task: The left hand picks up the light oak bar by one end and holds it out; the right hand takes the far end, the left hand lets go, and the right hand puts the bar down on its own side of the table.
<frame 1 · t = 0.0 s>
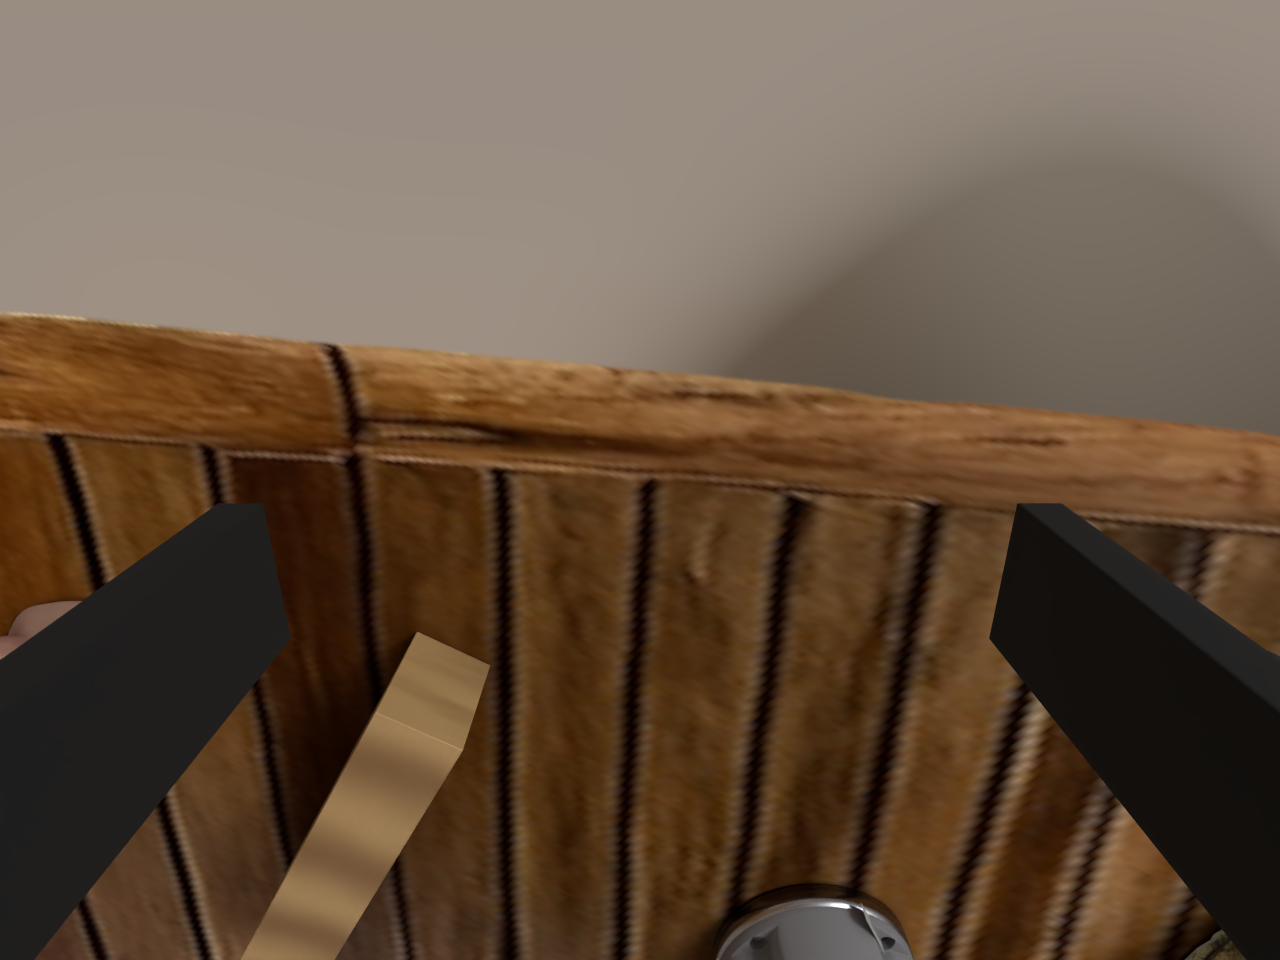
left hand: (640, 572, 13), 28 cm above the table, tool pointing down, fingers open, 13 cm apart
anatomical model: (84, 678, 47), on the table
bar: (386, 766, 50), on the table
fossil: (1226, 959, 57), on the table
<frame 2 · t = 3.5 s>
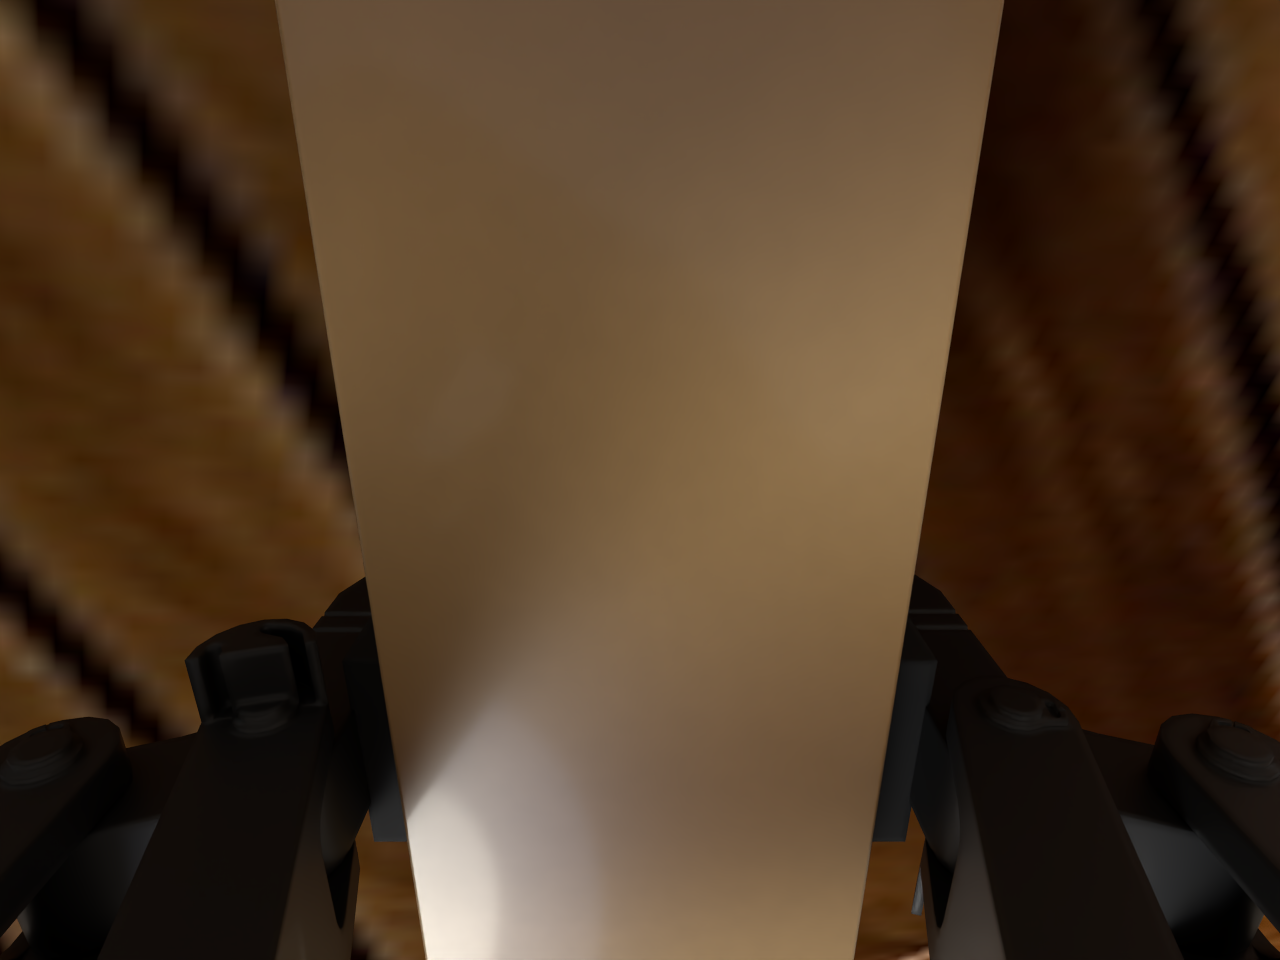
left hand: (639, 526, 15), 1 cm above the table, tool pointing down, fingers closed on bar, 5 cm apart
bar: (639, 70, 12), on the table, touching left hand
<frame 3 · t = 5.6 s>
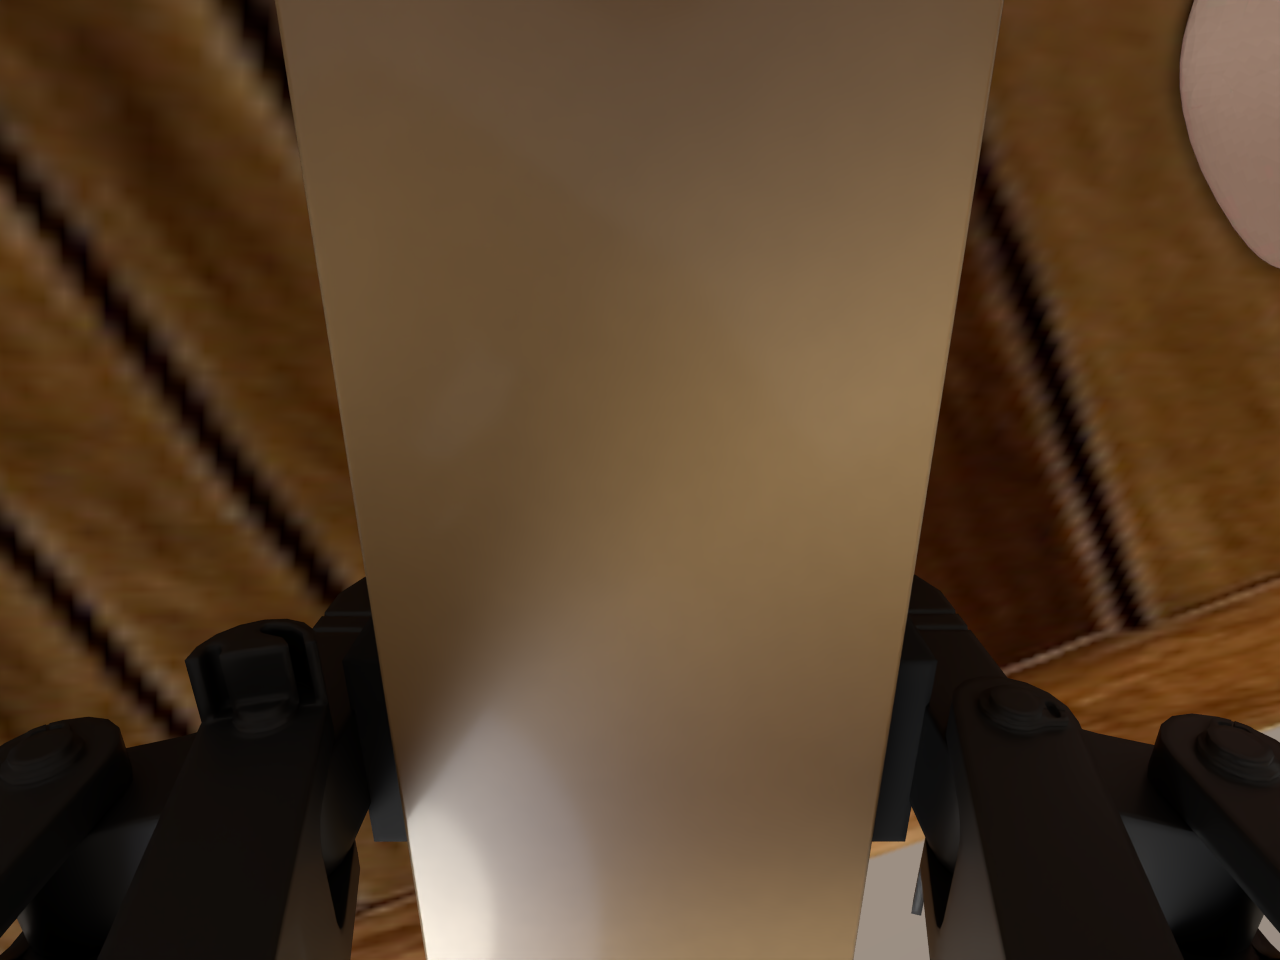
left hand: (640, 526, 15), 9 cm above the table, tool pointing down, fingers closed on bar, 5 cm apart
bar: (639, 71, 12), point 9 cm above the table, touching left hand
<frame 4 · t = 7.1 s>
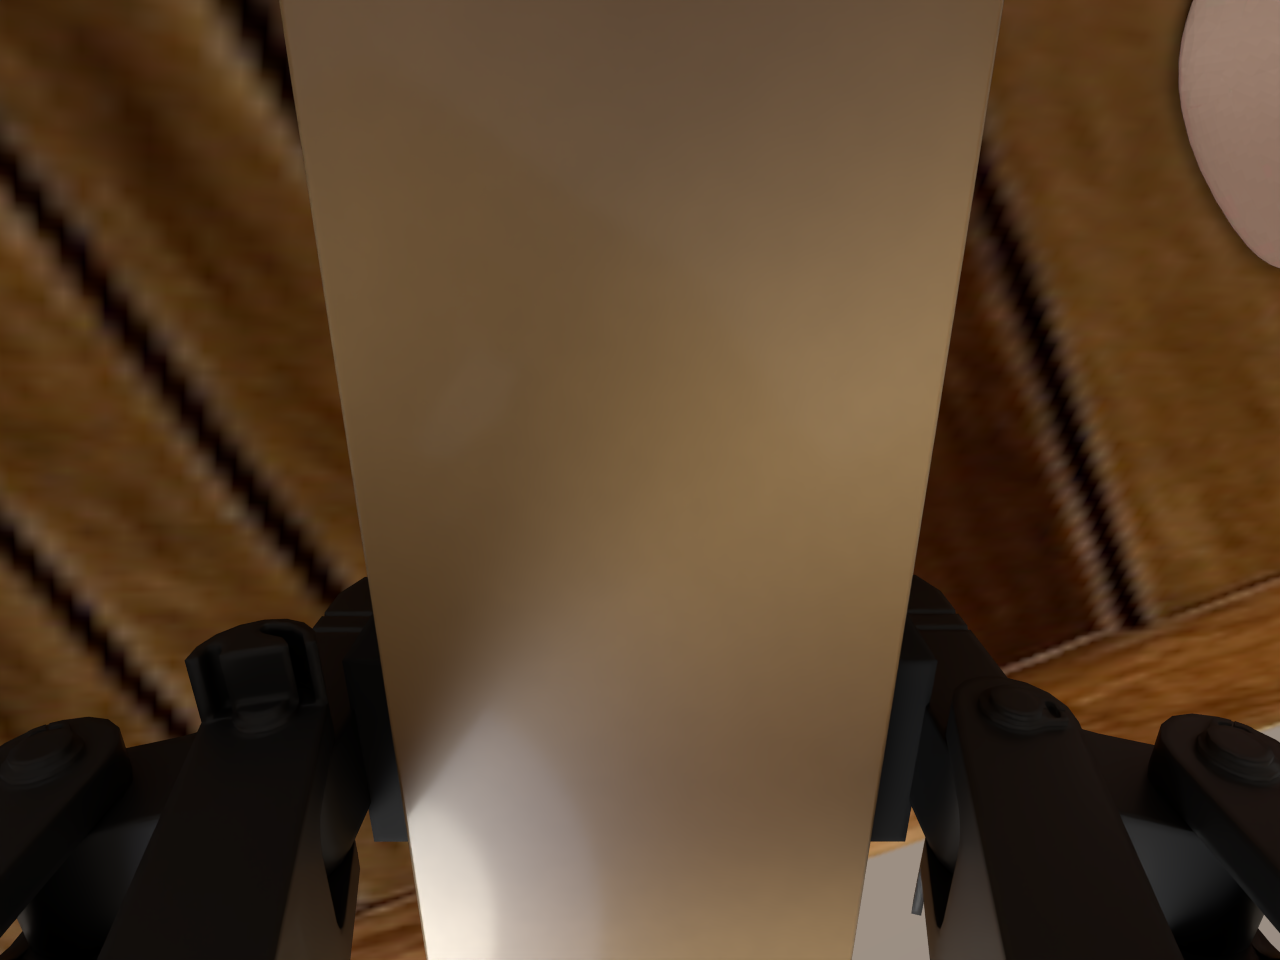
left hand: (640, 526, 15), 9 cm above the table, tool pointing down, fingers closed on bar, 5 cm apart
bar: (641, 71, 12), point 9 cm above the table, touching left hand, right hand
when the left hand's fingers open (9 cm above the table, at t = 7.9 s): bar stays where it is, held by the right hand.
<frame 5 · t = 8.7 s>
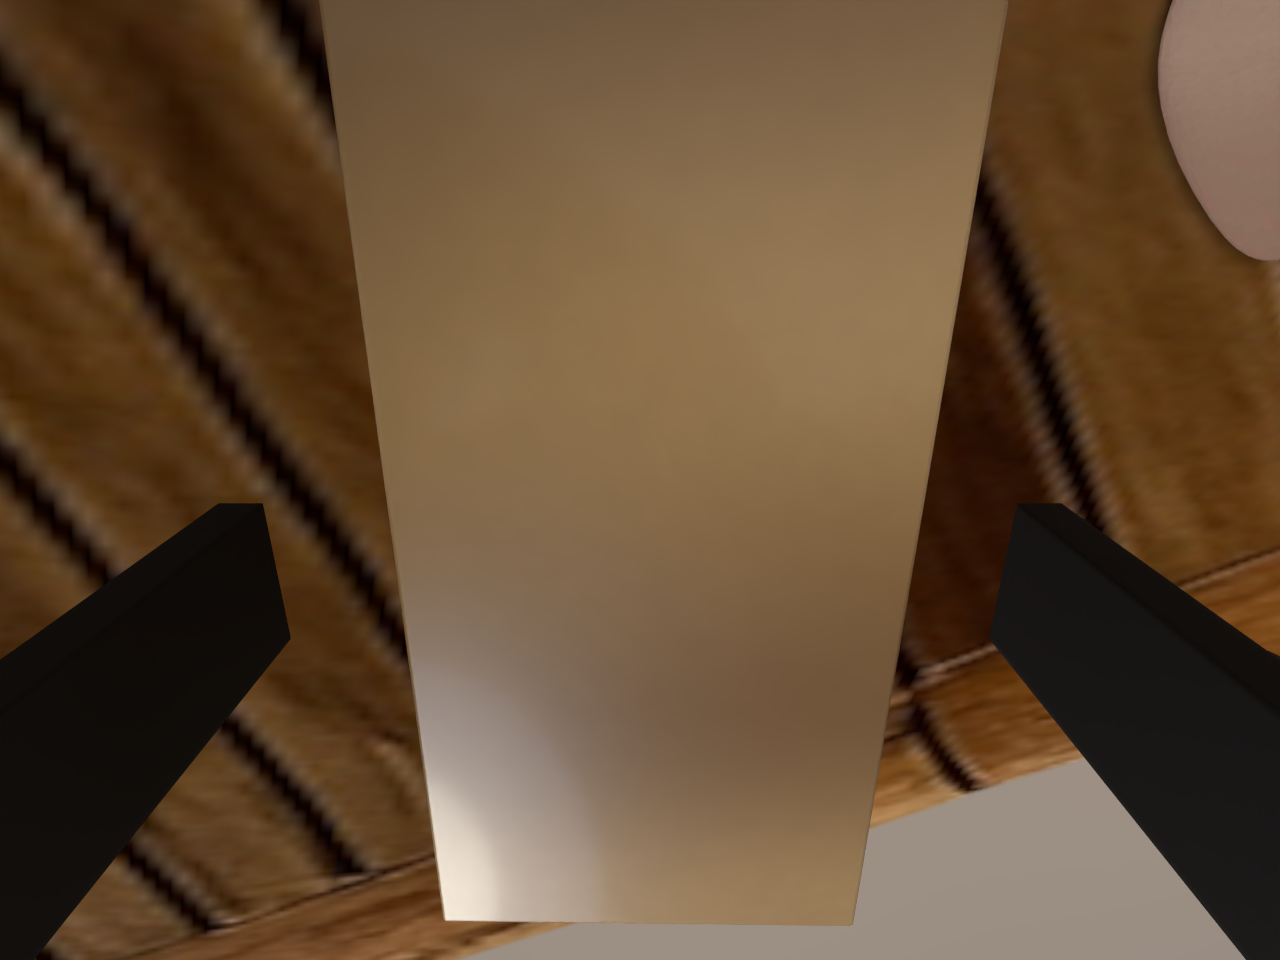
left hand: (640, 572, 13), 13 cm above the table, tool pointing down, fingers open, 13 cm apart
bar: (654, 24, 12), point 10 cm above the table, touching right hand
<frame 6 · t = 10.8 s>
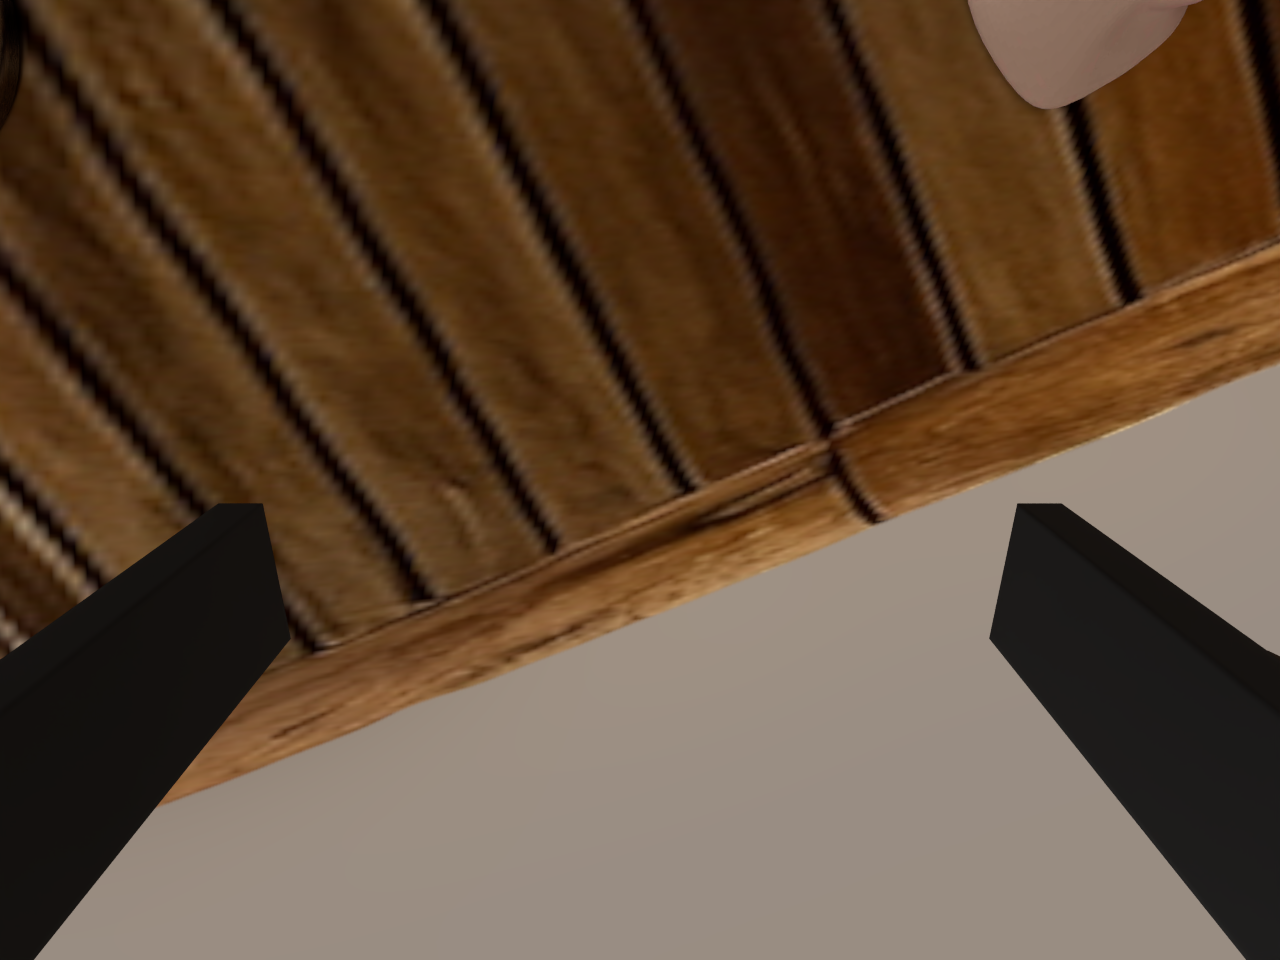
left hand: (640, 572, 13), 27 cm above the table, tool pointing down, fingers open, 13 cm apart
when the right hand's fingers open (4 cm above the table, at t = 14.8 s): bar stays where it is, on the table.
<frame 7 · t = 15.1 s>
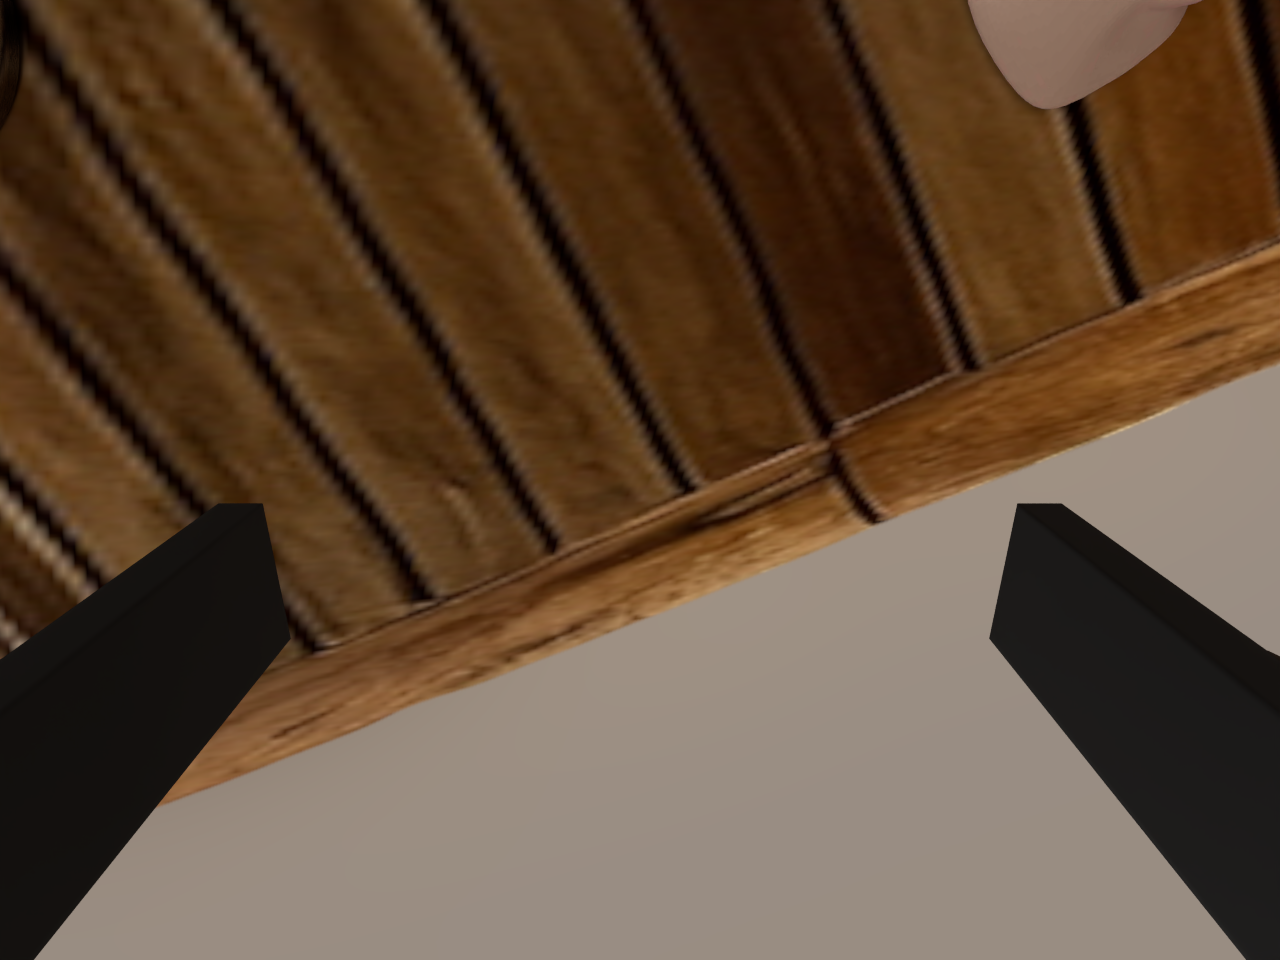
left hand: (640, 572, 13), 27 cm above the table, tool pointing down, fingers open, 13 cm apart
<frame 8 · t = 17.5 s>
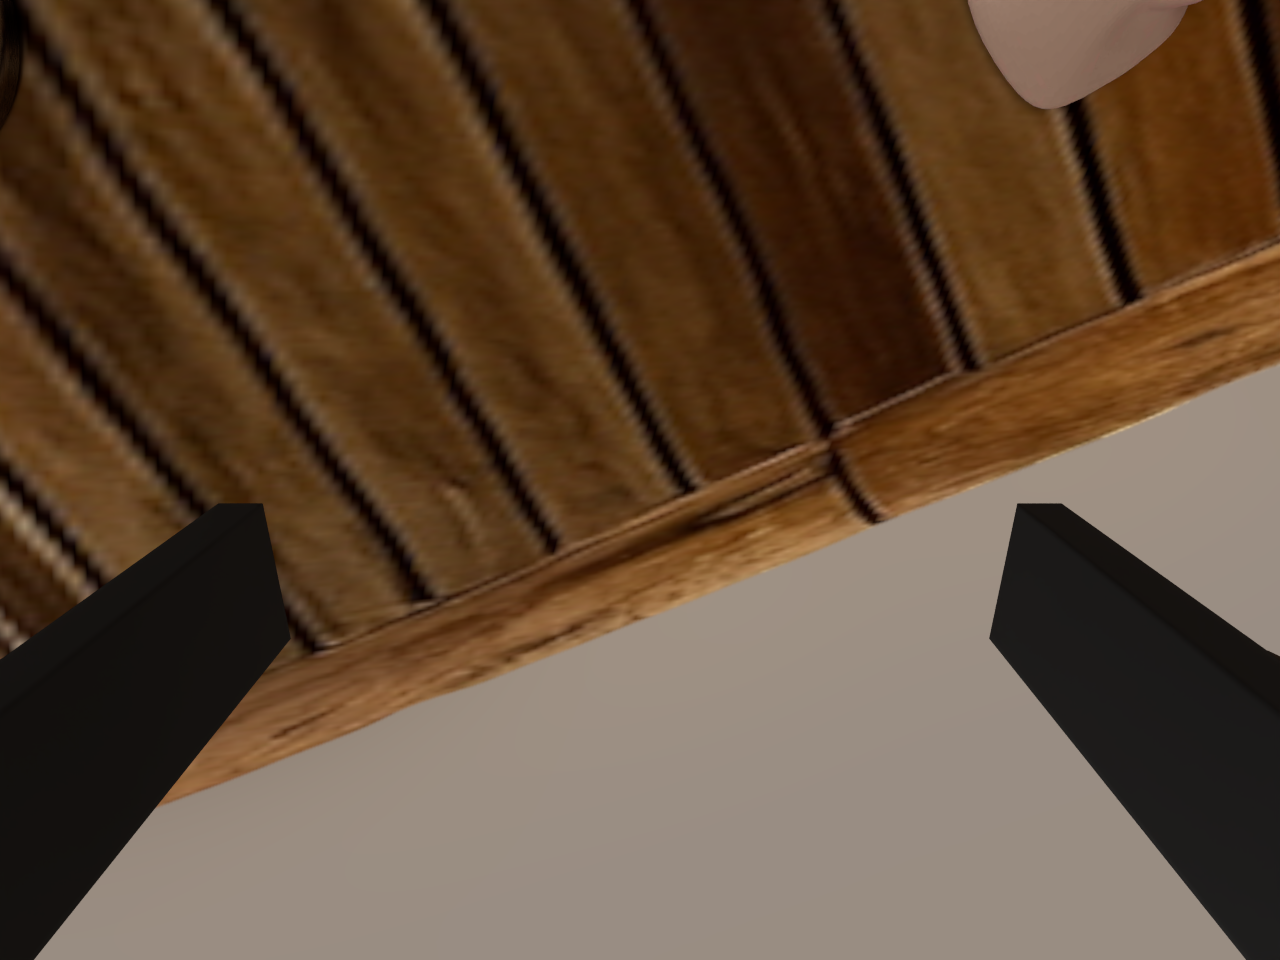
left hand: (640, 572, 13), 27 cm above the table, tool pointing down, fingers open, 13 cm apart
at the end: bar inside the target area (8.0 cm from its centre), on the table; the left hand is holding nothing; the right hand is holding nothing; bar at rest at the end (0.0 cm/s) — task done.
